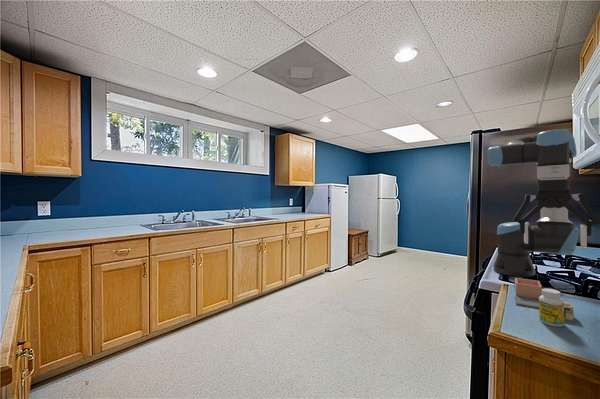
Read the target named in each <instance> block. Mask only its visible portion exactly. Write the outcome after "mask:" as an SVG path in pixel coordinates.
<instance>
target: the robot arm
mask: <svg viewBox="0 0 600 399" xmlns="http://www.w3.org/2000/svg"><path fill="white" fill-rule="evenodd" d="M577 155H578V154H577V146H576V141H575V137H574V134H573V133H572V132H571V131H569V130H568V129H566V128H565V129H564V128H561V129H560V128H559V129H550V130H545V131H541V132H539V133H537V134H535V135H528V136H523V137H522V136H521V137H519V138H516V139H512V140H510V141H508V142H506V143H505V144H504V145H497V146H491V147H488V148H487V156H486V157H487V158H486V159H487V164H488V165H489V166H490V167H496V166H497V167H500V166H512V165H521V164H522V165H524V164H525V165H527V164H535V165H536V178H537V179H539V180H537V182H536V184H537V186H536V189H537V190H536V195H534V194H528V193H527V194H525V195H524V200H523V202H522V204H521V205H520V207H519V208H518V209H517V212H515V215H513V216H514V217H513V218H512V221H513V222H512V221H511V222H503V223H500V224H499V225H497V232H496V235H497V254H496V258H495V260H494V262H493V272H496V273H498V274H501V275H506V276H509V277H516V278H529V277H535V276H536V268H535V267H534V264H533V262H532V259H531V257H530V256H531V255H530V254H531V253H540V254H541V253H542V254H551V255H557V256H559V255H562V256H563V255H565V256H571V255H573V254H575V251H576V249H577V243H578V237H579V235H580V238H579V239H580V242H579V243H580V246H581V247H582V248H588V246H587V245H588V244H587V243H588V242H587V241H588V239H587V238H588V237H591V236H592V226H594V225H597V224H598V225H599V224H600V219H599V217H598V216H597V215H596V214H597V213H595V212H594V210H593V209H592V207H591V206H590V205H589V203H588V202H587V200H586V195H585V193H580V192H579V193H574V194H571V191H570V189H571V186H570V185H571V184H570V180H569V179H568V178H569V177H570V163H571V162H573V158H577ZM572 199H573V200H574V201H577V203H578V204H579V205H580V207H581V208H582V209H583V210H584V212H585V214H586V216H588V218H589V219H588V218H586V216H584V215H583V214H582V213H580V212H579V211H578V210H577V209H576V208H574V207H573V206H572V205H571V204H570V201H571V200H572ZM533 200H536V201H537V202H538V203H537V204H536V205H535V206H534V207H533V208H532V209H531V210H529V211H528V212H527V213H526V214H525V215H524V216H523V217H522V215H523V214H524V213H525V211H526V210H527V208H528V206H529V204H530V202H533ZM539 211H540V218H539V219H538V220H536V221H535V225H531V224H530V223H529V222H528V221H529V220H531V218H532V217H533V216H535V215H536V214H537V213H538V212H539ZM569 212H570V214H572V215H573V216H574V217H575V218H577V219H578V220H579V221H581V222H582V223H583V224H579V226H580V230H579V228H578V227H576V226H574V222H572V221H571V220H570V219H569ZM521 217H522V218H521ZM579 231H580V234H579ZM534 275H535V276H534Z"/></svg>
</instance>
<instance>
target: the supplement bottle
mask: <svg viewBox="0 0 600 399" xmlns="http://www.w3.org/2000/svg"><path fill="white" fill-rule="evenodd" d="M564 302H565V301H564V300H563V299H562V298H561V291H559V290H557V289H554V288H547V287H546V288H545V287H543V288H542V295H541V296H540V297H539V309H538V310H539V311H538V314H539V317H538V318H539V320H540V321H541V323H543V324H546V325H548V326H551V327H558V328H559V327H563V326H565V319H564Z"/></svg>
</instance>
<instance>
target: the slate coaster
mask: <svg viewBox="0 0 600 399" xmlns="http://www.w3.org/2000/svg"><path fill="white" fill-rule="evenodd" d="M514 300H515V304H516V305H515V306H522V307H527V308H532V309H533V308H534V309H538V310H539V300H537V299H531V298H525V297H518V296H516V295H514Z"/></svg>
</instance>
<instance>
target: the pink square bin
mask: <svg viewBox="0 0 600 399" xmlns="http://www.w3.org/2000/svg"><path fill="white" fill-rule="evenodd" d="M542 289H543V286H542V284H541V282H540V280H535V279H526V278H521V277H514V292H515V296H518V297H525V298H531V299H537V300H539V297H540V296H541V295H543V294H542Z"/></svg>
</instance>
